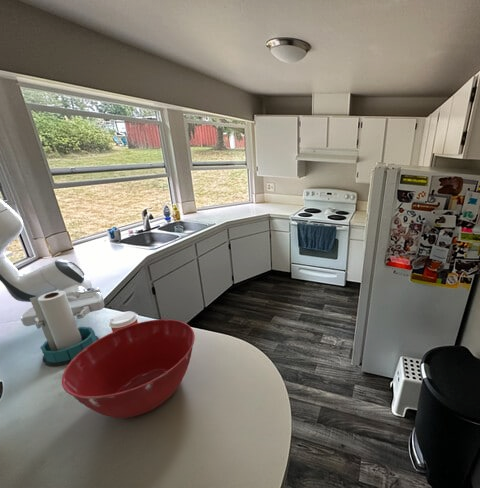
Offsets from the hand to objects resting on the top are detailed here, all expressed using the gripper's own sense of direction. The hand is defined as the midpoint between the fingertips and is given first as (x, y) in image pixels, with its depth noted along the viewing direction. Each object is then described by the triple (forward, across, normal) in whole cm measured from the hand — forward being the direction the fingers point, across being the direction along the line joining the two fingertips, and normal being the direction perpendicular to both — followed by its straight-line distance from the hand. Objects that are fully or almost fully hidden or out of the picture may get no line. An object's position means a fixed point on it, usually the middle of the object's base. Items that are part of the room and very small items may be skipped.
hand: (60, 321), depth 81 cm
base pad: (-1, 0, +13) cm, 13 cm away
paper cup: (+9, +17, +13) cm, 24 cm away
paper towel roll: (-1, 0, +12) cm, 12 cm away
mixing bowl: (+31, +22, +13) cm, 40 cm away
